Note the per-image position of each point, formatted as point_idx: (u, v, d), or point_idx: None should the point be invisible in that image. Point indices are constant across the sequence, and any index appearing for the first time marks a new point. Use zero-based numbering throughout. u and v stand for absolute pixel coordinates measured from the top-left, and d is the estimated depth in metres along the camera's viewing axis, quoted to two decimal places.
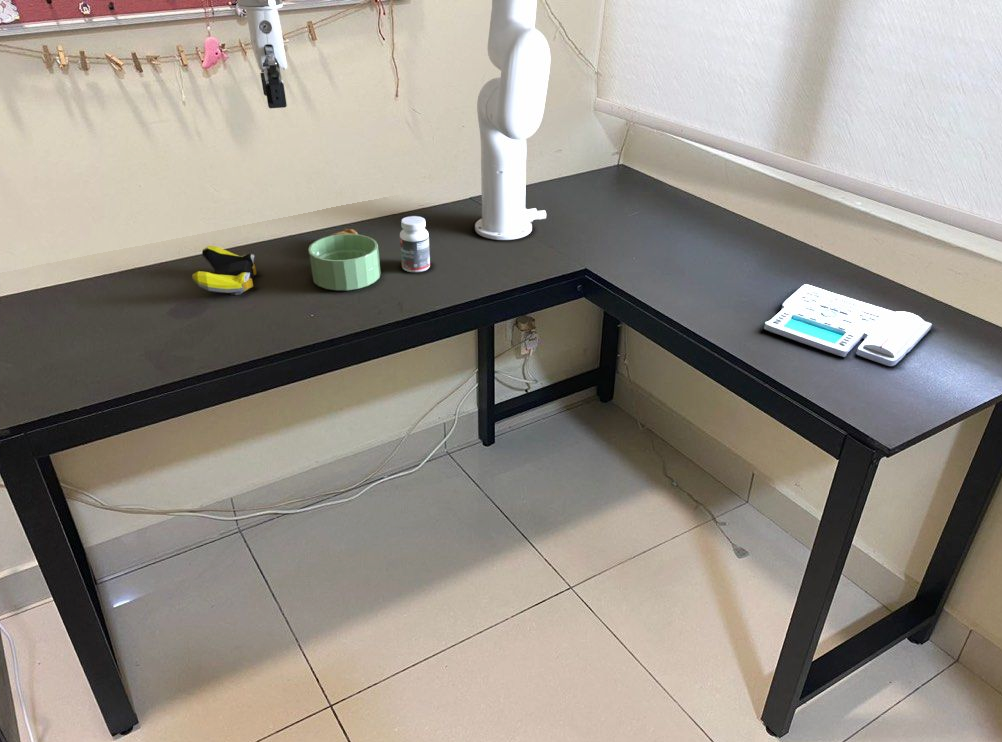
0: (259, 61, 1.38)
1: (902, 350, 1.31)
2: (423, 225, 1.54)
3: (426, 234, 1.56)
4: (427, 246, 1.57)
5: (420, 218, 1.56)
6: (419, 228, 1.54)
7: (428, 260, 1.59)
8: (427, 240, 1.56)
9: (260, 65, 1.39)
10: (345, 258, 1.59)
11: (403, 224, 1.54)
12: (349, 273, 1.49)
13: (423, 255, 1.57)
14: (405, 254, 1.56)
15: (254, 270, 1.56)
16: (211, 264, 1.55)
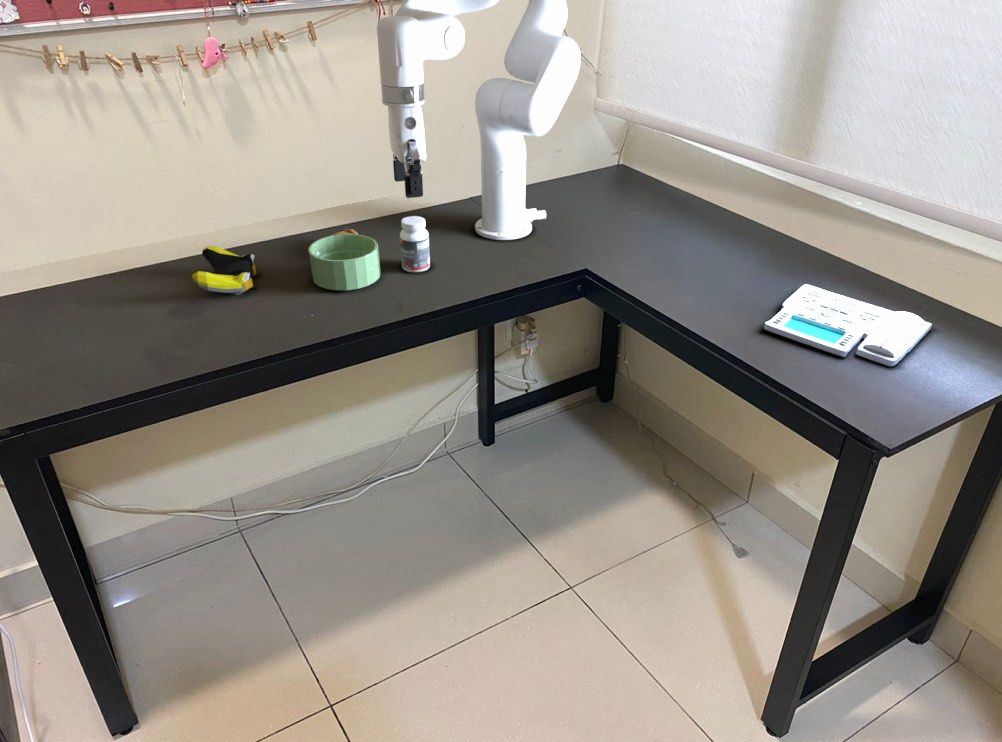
0: (401, 154, 1.42)
1: (902, 350, 1.31)
2: (423, 225, 1.54)
3: (426, 234, 1.56)
4: (427, 246, 1.57)
5: (420, 218, 1.56)
6: (419, 228, 1.54)
7: (428, 260, 1.59)
8: (427, 240, 1.56)
9: (402, 158, 1.43)
10: (345, 258, 1.59)
11: (403, 224, 1.54)
12: (349, 273, 1.49)
13: (423, 255, 1.57)
14: (405, 254, 1.56)
15: (254, 270, 1.56)
16: (211, 264, 1.55)
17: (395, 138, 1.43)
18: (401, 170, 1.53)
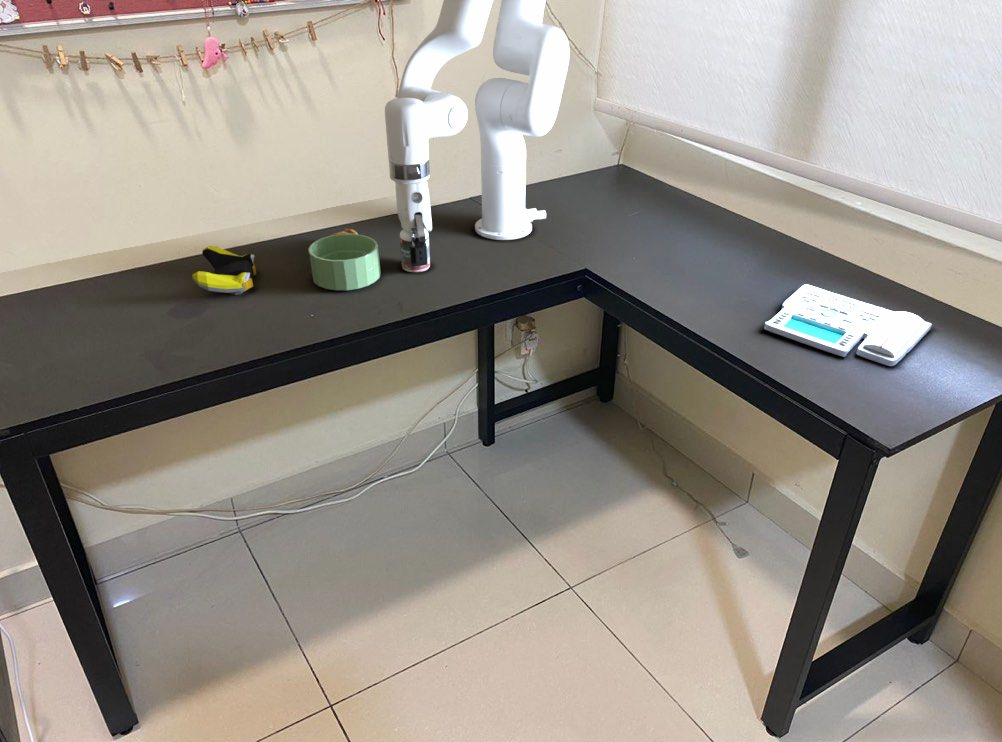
0: (408, 226, 1.50)
1: (902, 350, 1.31)
2: None
3: (426, 234, 1.56)
4: (427, 246, 1.57)
5: None
6: None
7: (428, 260, 1.59)
8: (427, 240, 1.56)
9: (409, 229, 1.51)
10: (345, 258, 1.59)
11: None
12: (349, 273, 1.49)
13: None
14: (405, 254, 1.56)
15: (254, 270, 1.56)
16: (211, 264, 1.55)
17: (402, 210, 1.50)
18: None
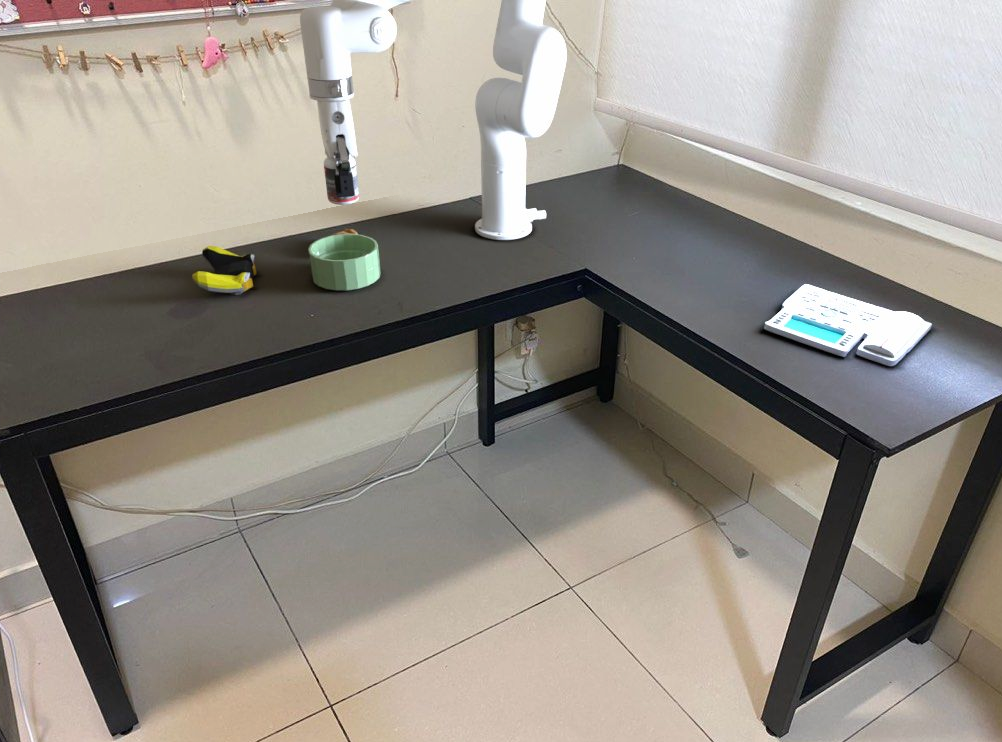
0: (330, 150, 1.38)
1: (902, 350, 1.31)
2: (348, 151, 1.42)
3: (352, 162, 1.43)
4: (354, 175, 1.44)
5: None
6: None
7: (356, 191, 1.46)
8: (354, 169, 1.44)
9: (331, 154, 1.38)
10: (345, 258, 1.59)
11: (326, 150, 1.41)
12: (349, 273, 1.49)
13: None
14: (330, 184, 1.44)
15: (254, 270, 1.56)
16: (211, 264, 1.55)
17: (324, 133, 1.38)
18: None
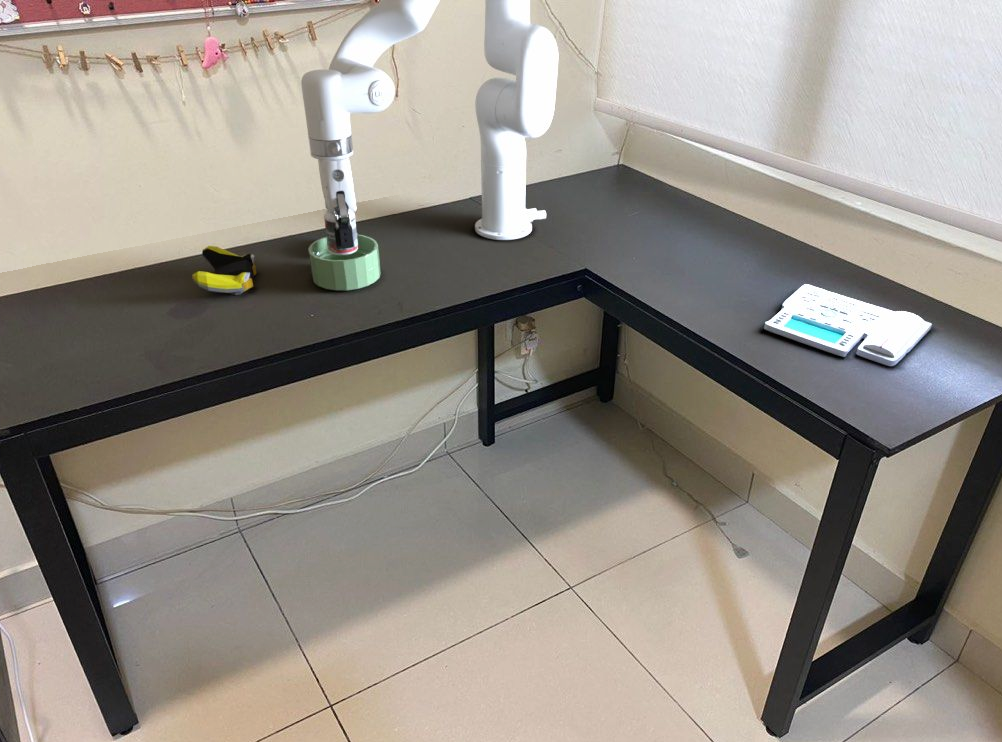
0: (330, 206, 1.43)
1: (902, 350, 1.31)
2: None
3: (352, 215, 1.48)
4: (353, 228, 1.49)
5: None
6: None
7: (355, 242, 1.51)
8: (353, 221, 1.49)
9: (331, 209, 1.43)
10: (345, 258, 1.59)
11: (326, 204, 1.46)
12: (349, 273, 1.49)
13: None
14: (330, 236, 1.49)
15: (254, 270, 1.56)
16: (211, 264, 1.55)
17: (324, 189, 1.43)
18: None
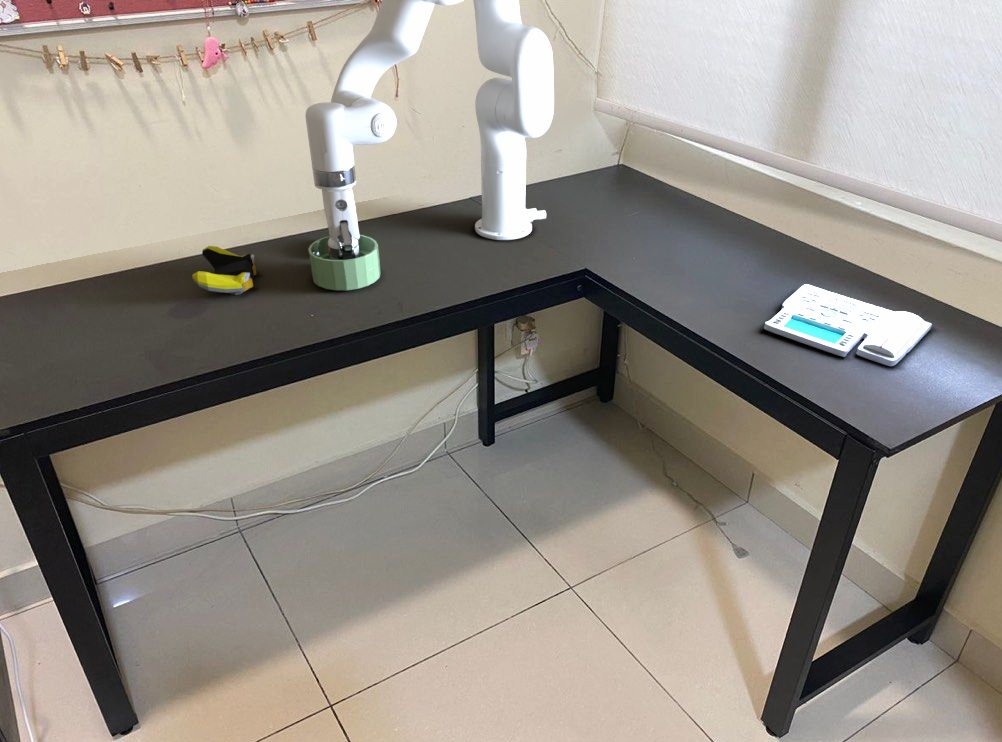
0: (334, 234, 1.46)
1: (902, 350, 1.31)
2: None
3: (355, 242, 1.51)
4: (356, 254, 1.52)
5: None
6: None
7: None
8: (356, 248, 1.52)
9: (335, 238, 1.46)
10: None
11: None
12: (349, 273, 1.49)
13: None
14: None
15: (254, 270, 1.56)
16: (211, 264, 1.55)
17: (328, 218, 1.46)
18: None
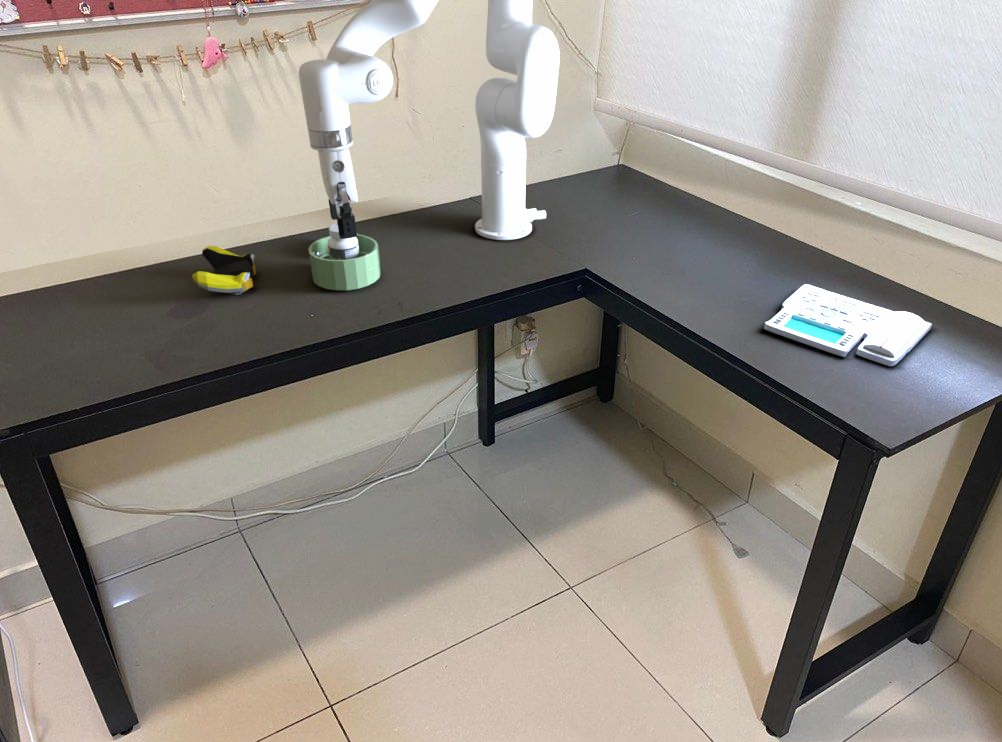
0: (331, 197, 1.42)
1: (902, 350, 1.31)
2: None
3: (355, 242, 1.51)
4: (356, 254, 1.52)
5: None
6: None
7: None
8: (356, 248, 1.52)
9: (332, 201, 1.43)
10: None
11: (330, 231, 1.49)
12: (349, 273, 1.49)
13: None
14: None
15: (254, 270, 1.56)
16: (211, 264, 1.55)
17: (325, 181, 1.42)
18: None
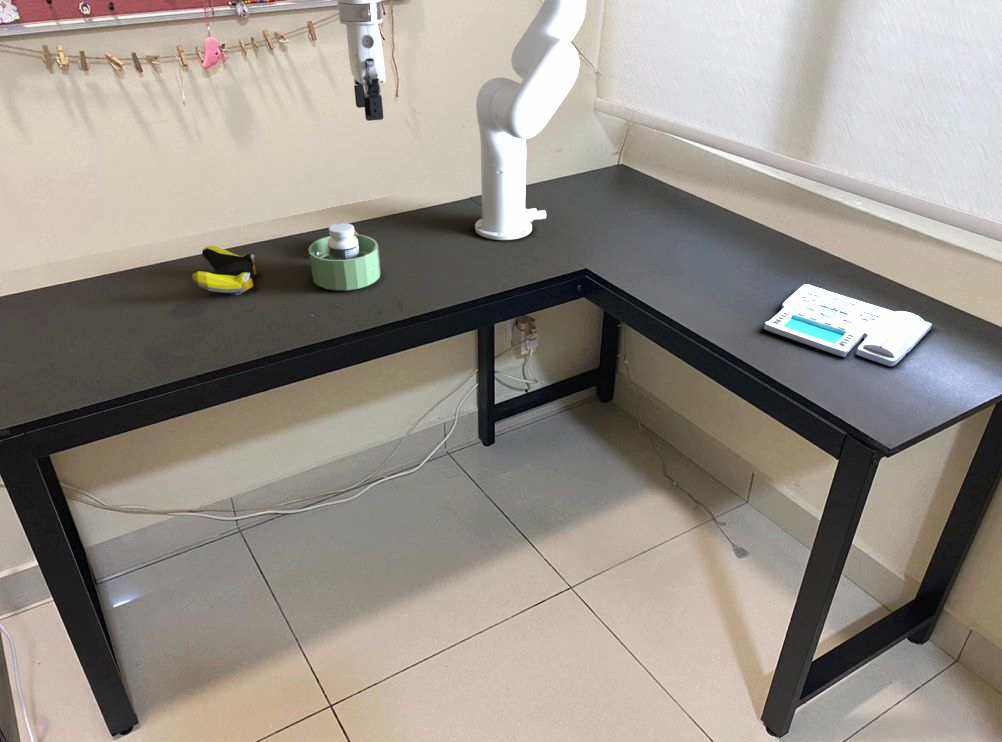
0: (360, 75, 1.41)
1: (902, 350, 1.31)
2: (351, 232, 1.50)
3: (355, 242, 1.51)
4: (356, 254, 1.52)
5: (349, 225, 1.51)
6: (347, 236, 1.49)
7: None
8: (356, 248, 1.52)
9: (360, 79, 1.42)
10: None
11: (330, 231, 1.49)
12: (349, 273, 1.49)
13: None
14: None
15: (254, 270, 1.56)
16: (211, 264, 1.55)
17: (353, 58, 1.42)
18: (362, 96, 1.52)
